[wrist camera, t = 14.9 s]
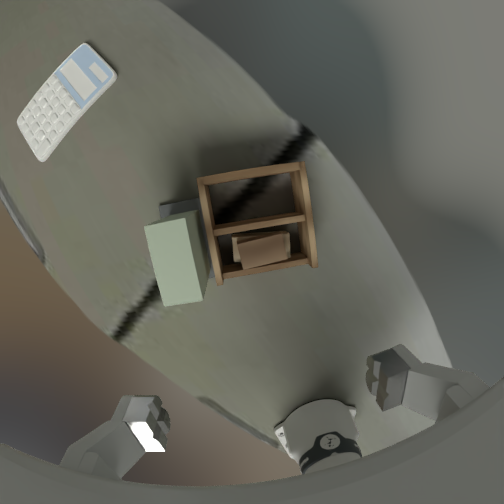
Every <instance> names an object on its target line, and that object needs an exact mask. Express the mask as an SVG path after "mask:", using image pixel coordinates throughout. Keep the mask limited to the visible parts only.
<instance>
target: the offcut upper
mask: <svg viewBox="0 0 504 504" xmlns="http://www.w3.org/2000/svg"><path fill="white" fill-rule="evenodd" d="M237 247H238V251H239V255H240V259H241V263H242V267H243V270H245V269H249V268H253V267H258V266H262V265H266V264H270V263H274V262H278V261H282V260H286V259H287V254H286V250H285V245H284V240H283V235H282V233H281V232H280V231H276V232H272V233H268V234H264V235H260V236H256V237H251V238H247V239H243V240H239V241H237Z"/></svg>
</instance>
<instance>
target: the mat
mask: <svg viewBox="0 0 504 504" xmlns="http://www.w3.org/2000/svg"><path fill="white" fill-rule="evenodd" d="M194 210H199V213H200V218H201V223H202V228H203V234H204V239H205V244H206V249H207V254H208V258H209V263H210V268H211V270H210V274H209V278H213V277H215V273H214V269H213V264H212V259H211V254H210V249H209V244H208V239H207V234H206V229H205V223H204V218H203V213H202V207H201V202H200V198H195V199H190V200H185V201H181V202H176V203H171V204H166V205H162V206H159V211H160V216H161V219H162V218H164V217H167V216H169V215H174V214H179V213H183V212H188V211H194Z"/></svg>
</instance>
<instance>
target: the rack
mask: <svg viewBox="0 0 504 504" xmlns="http://www.w3.org/2000/svg"><path fill="white" fill-rule="evenodd" d="M282 173H290V177H291V184H292V190H293V197H294V204H295V211H296V212H291V213H284V214H278V215H272V216H266V217H260V218H254V219H248V220H242V221H236V222H231V223H225V224H220V225H215V221H214V215H213V210H212V204H211V199H210V193H209V187H208V185H214V184H219V183H225V182H230V181H236V180H242V179H248V178H255V177H261V176H268V175H275V174H282ZM196 179H197V184H198V190H199V196H200V202H201V207H202V213H203V218H204V223H205V229H206V234H207V239H208V244H209V249H210V254H211V259H212V264H213V269H214V273H215V278H216V283H217V286H219V285H223V280H224V279H227V278H233V277H239V276H244V275H250V274H256V273H261V272H267V271H272V270H278V269H283V268H288V267H294V266H299V265H304V264H309V265H310V266H311V267H312V268H317V267H318V260H317V250H316V241H315V232H314V224H313V216H312V208H311V201H310V194H309V187H308V180H307V174H306V168H305V161H303V162H294V163H286V164H278V165H271V166H264V167H257V168H250V169H244V170H238V171H232V172H226V173H220V174H215V175H210V176H204V177H199V178H196ZM295 222H297V225H298V233H299V241H300V249H301V252H297V253H292V254H290V258H287V259H286V260H282V261H278V262H274V263H270V264H266V265H262V266H258V267H253V268H249V269H245V270H243V267H242V263H236V264H230V265H224V266H223V263H222V258H221V253H220V248H219V242H218V237H217V236H219V235H224V234H230V233H236V232H241V231H247V230H253V229H259V228H265V227H270V226H276V225H282V224H289V223H295Z"/></svg>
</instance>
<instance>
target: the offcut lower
mask: <svg viewBox="0 0 504 504" xmlns="http://www.w3.org/2000/svg"><path fill="white" fill-rule="evenodd" d="M272 232H276V231H270V232H257V233H243V234H232V243H233V256H234V262H241V259H240V255H239V251H238V247H237V241H239V240H243V239H247V238H251V237H256V236H260V235H264V234H268V233H272ZM280 232H281V233H282V235H283V240H284V245H285V250H286V254H287V258H290V233H288V232H287V231H286V230H285V231H280Z"/></svg>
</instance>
